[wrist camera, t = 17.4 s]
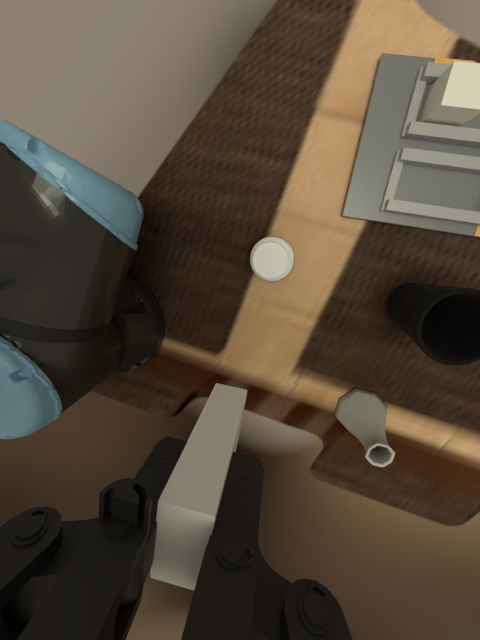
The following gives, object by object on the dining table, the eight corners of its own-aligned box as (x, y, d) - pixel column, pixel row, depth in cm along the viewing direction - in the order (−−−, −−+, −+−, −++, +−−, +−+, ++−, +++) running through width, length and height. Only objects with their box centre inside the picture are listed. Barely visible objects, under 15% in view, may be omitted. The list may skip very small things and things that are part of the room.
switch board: (340, 216, 38) (345, 214, 35) (378, 59, 33) (387, 43, 31) (549, 249, 35) (571, 249, 33) (622, 84, 31) (654, 69, 28)
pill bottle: (299, 245, 40) (303, 245, 31) (284, 281, 41) (285, 291, 33) (262, 231, 40) (256, 228, 31) (249, 268, 41) (240, 275, 33)
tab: (418, 125, 33) (440, 105, 28) (429, 88, 32) (454, 60, 27) (455, 129, 33) (484, 110, 28) (467, 92, 32) (499, 65, 27)
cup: (398, 265, 38) (446, 275, 27) (452, 289, 38) (525, 309, 27) (368, 317, 41) (401, 346, 29) (419, 340, 40) (473, 378, 29)
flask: (365, 438, 45) (387, 491, 36) (325, 415, 45) (336, 461, 36) (395, 404, 43) (427, 449, 34) (353, 379, 43) (372, 418, 34)
